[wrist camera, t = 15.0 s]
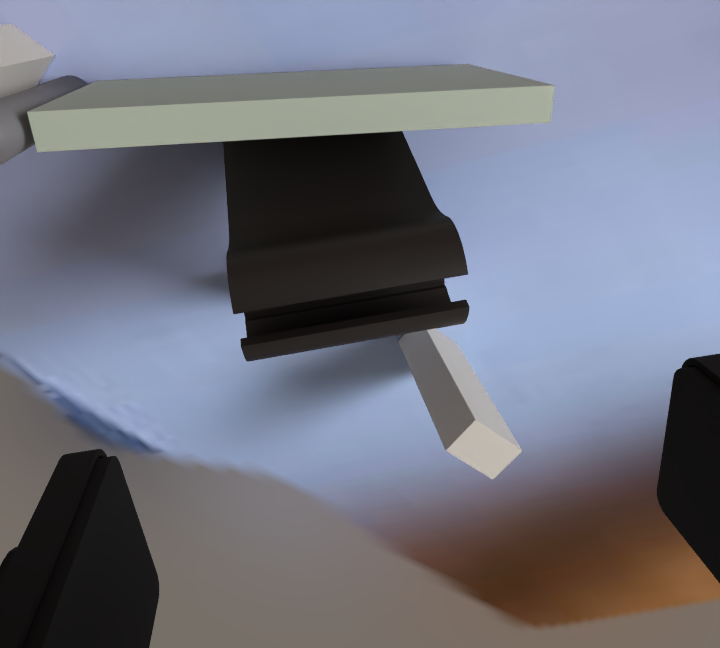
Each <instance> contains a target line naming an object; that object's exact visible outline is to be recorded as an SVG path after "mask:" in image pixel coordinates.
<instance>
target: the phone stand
mask: <svg viewBox="0 0 720 648" xmlns="http://www.w3.org/2000/svg"><path fill="white" fill-rule="evenodd" d="M223 144H224V159H225V175H226V191H227V206H228V222H229V249H228V252H227V274H228V283H229V290H230V297H231V303H232V309H233V314H238V313H243V312H244V315H245V322H246V330H247V338H242V339H241V348H242V351H243V354H244V357H245V359H246V361H254V360H259V359H265V358H271V357H276V356H282V355H288V354H293V353H299V352H305V351H310V350H316V349H322V348H327V347H333V346H339V345H344V344H350V343H356V342H361V341H367V340H373V339H378V338H384V337H390V336H395V335H401V334H407V333H412V332H418V331H424V330H430V329H435V328H441V327H447V326H452V325H458V324H463V323H465V322H466V320H467V317H468V313H469V305H468V303H467V301H466V300H461V301H455V302H451V301H450V298H449V295H448V292H447V288H446V286H445V285H444V278H450V277H455V276H461V275H467V274H468V271H467V265H466V259H465V255H464V250H463V247H462V243H461V240H460V237H459V234H458V231H457V229H456V227H455V225H454V223H453V222H452V220H451V219H450V218H449V217H447V216H445V215H444V214H442V213H441V212H440V211H439V209H438V208H437V206H436V205H435V203H434V201H433V199H432V197H431V195H430V193H429V191H428V188H427V186H426V184H425V182H424V179H423V177H422V175H421V173H420V170H419V168H418V166H417V164H416V161H415V159H414V157H413V155H412V153H411V150H410V148H409V146H408V144H407V141H406V139H405V137H404V135H403V132H402V131H395V132H377V133H360V134H343V135H325V136H308V137H291V138H274V139H256V140H239V141H223Z"/></svg>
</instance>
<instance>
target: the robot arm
mask: <svg viewBox="0 0 720 648" xmlns="http://www.w3.org/2000/svg"><path fill="white" fill-rule="evenodd" d="M657 497H658V501H659V504H660V507H661V509H662V510H663V512H664V513H665V515H666V516H667V517H668V519H669V520H670V521H671V522H672V524H673V525H674V526H675V527H676V529H677V530H678V531H679V532H680V534H681V535H682V536H683V537H684V539H685V540H686V541H687V542H688V544H689V545H690V546H691V548H692V549H693V550H694V551H695V553H696V554H697V555H698V556H699V558H700V559H701V560H702V561H703V563H704V564H705V565H706V566H707V568H708V569H709V570H710V571H711V573H712V574H713V575H714V577H715V578H716V579H717V580H718V582H719V583H720V354H715V355H709V356H702V357H696V358H689V359H688V360H686V361H685V362H684V363H683V365H682V368H680V369H678V370H677V371H676V372H675V374H674V378H673V385H672V391H671V398H670V405H669V412H668V419H667V425H666V432H665V439H664V446H663V453H662V459H661V466H660V473H659V480H658V486H657ZM158 598H159V581H158V575H157V572H156V569H155V566H154V563H153V560H152V557H151V554H150V551H149V549H148V546H147V542H146V540H145V536H144V533H143V530H142V527H141V524H140V521H139V519H138V515H137V512H136V510H135V507H134V504H133V501H132V498H131V495H130V492H129V489H128V486H127V483H126V480H125V477H124V474H123V471H122V468H121V465H120V462H119V460H118V458H117V457H116V456H110V457H107V455H106V453H105V452H104V451H103V450H101V449H96V450H89V451H83V452H77V453H70V454H65V455H63V456H62V457H61V458H60V460H59V462H58V464H57V466H56V468H55V470H54V472H53V474H52V476H51V478H50V481H49V483H48V485H47V487H46V489H45V491H44V493H43V495H42V497H41V500H40V501H39V504H38V506H37V508H36V510H35V512H34V514H33V516H32V518H31V520H30V522H29V524H28V526H27V528H26V531H25V533H24V535H23V537H22V539H21V541H20V543H19V545H18V547H15V548H14V549H12V550H11V551H9V553H8V554H7V556H6V557H5V559H4V560H3V562H2V564H1V566H0V648H149V645H150V640H151V635H152V630H153V625H154V619H155V614H156V609H157V604H158Z"/></svg>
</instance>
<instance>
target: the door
mask: <svg viewBox="0 0 720 648" xmlns="http://www.w3.org/2000/svg"><path fill="white" fill-rule="evenodd" d="M554 86H555V85H551V84H547V83H543V82H539V81H535V80H531V79H527V78H523V77H519V76H515V75H511V74H507V73H503V72H499V71H494V70H490V69H486V68H482V67H478V66H474V65H470V64H458V65H436V66H414V67H391V68H369V69H347V70H325V71H303V72H281V73H259V74H237V75H215V76H193V77H171V78H149V79H127V80H105V81H95V82H93V83H91V84H89V85H88V84H87V83H86V82H85V81H83V80H82V79H80V78H78V77H75V76H64V77H61V78H58V79H55V80H52V81H49V82H47V83H44V84H41V85H38V86H35V87H32V88H29V89H26V90H23V91H20V92H17V93H15V94H12V95H9V96H6V97H3V98H0V165H1V164H3V163H4V162H6V161H8V160H9V159H11V158H13V157H14V156H16V155H18V154H19V153H21V152H22V151H24V150H26V149H27V148H29V147H31V146H32V145H34V144H35V145H36V149H37V152H49V151H66V150H84V149H101V148H118V147H135V146H153V145H170V144H187V143H205V142H222V141H239V140H256V139H274V138H291V137H308V136H325V135H343V134H360V133H377V132H395V131H412V130H429V129H446V128H464V127H481V126H498V125H515V124H533V123H550V122H551V116H552V106H553V96H554Z"/></svg>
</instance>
